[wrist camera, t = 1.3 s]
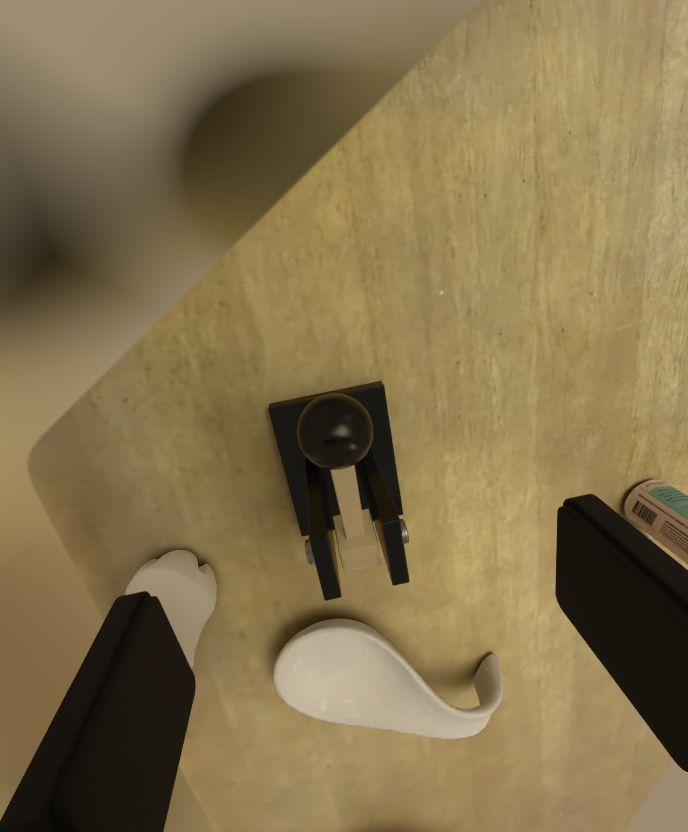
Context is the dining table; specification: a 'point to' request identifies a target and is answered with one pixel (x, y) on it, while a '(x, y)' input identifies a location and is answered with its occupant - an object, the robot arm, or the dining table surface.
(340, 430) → the switch lever
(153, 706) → the robot arm
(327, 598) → the bracket
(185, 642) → the water bottle
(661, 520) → the beer can
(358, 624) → the spoon rest
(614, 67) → the dining table surface
